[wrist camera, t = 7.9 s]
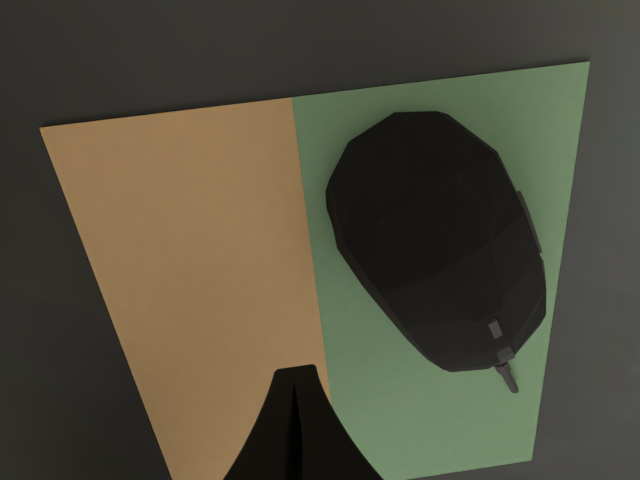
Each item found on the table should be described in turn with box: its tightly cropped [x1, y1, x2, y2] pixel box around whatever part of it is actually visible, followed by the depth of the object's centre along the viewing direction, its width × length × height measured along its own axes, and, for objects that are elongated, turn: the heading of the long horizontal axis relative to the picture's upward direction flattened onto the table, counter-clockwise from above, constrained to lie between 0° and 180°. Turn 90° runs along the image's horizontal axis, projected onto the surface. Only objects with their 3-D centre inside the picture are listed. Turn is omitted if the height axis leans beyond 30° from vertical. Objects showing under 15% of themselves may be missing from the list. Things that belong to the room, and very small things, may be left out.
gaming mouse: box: [325, 111, 546, 393], centre depth 14 cm, size 6×15×4 cm, turn 33°
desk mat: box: [39, 61, 590, 480], centre depth 17 cm, size 20×19×1 cm
